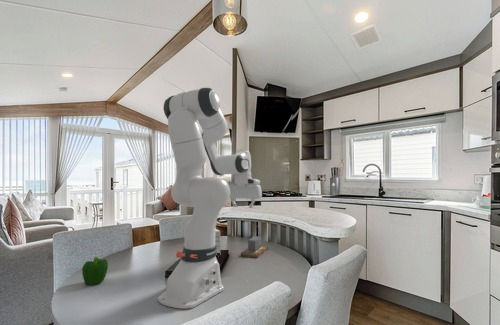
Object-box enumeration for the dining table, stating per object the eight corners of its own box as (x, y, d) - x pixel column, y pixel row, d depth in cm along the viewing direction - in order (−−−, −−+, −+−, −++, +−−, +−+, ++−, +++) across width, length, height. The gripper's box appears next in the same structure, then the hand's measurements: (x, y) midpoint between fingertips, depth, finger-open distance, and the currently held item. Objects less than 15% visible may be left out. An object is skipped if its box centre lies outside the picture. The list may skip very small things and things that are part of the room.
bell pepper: (85, 280, 94) (85, 254, 94) (109, 277, 97) (109, 251, 97) (78, 289, 86) (79, 260, 87) (104, 285, 89) (105, 257, 90)
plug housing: (255, 251, 120) (255, 240, 121) (248, 251, 122) (248, 240, 122) (261, 247, 129) (261, 236, 129) (255, 246, 130) (254, 236, 131)
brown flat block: (257, 257, 116) (257, 245, 116) (240, 255, 120) (240, 244, 120) (268, 248, 131) (268, 238, 131) (253, 247, 134) (253, 236, 135)
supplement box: (202, 254, 124) (202, 229, 125) (216, 252, 127) (216, 228, 128) (206, 258, 117) (206, 232, 118) (220, 256, 120) (220, 230, 121)
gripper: (223, 181, 128) (222, 207, 127) (258, 180, 120) (258, 208, 118) (228, 181, 134) (228, 206, 133) (262, 180, 125) (263, 207, 124)
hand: (243, 207), depth 125 cm, fingers open, 8 cm apart
